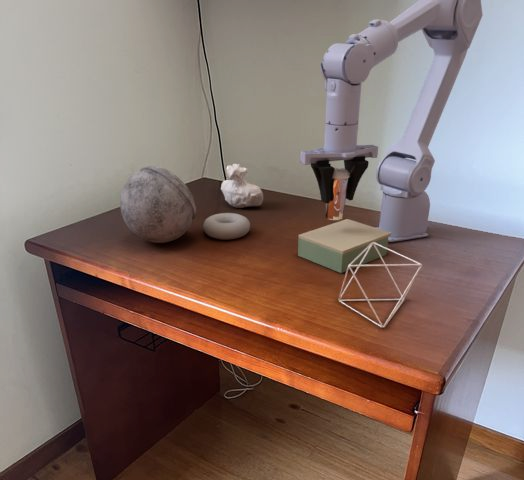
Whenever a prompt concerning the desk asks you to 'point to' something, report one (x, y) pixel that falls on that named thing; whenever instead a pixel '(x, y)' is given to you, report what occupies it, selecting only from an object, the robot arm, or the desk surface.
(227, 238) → the donut
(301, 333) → the desk surface
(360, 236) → the lunchbox lid
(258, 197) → the white lumpy piece
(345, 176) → the milkshake
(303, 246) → the lunchbox
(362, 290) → the geometric polyhedron
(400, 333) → the desk surface
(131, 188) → the decorative orb
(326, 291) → the desk surface
